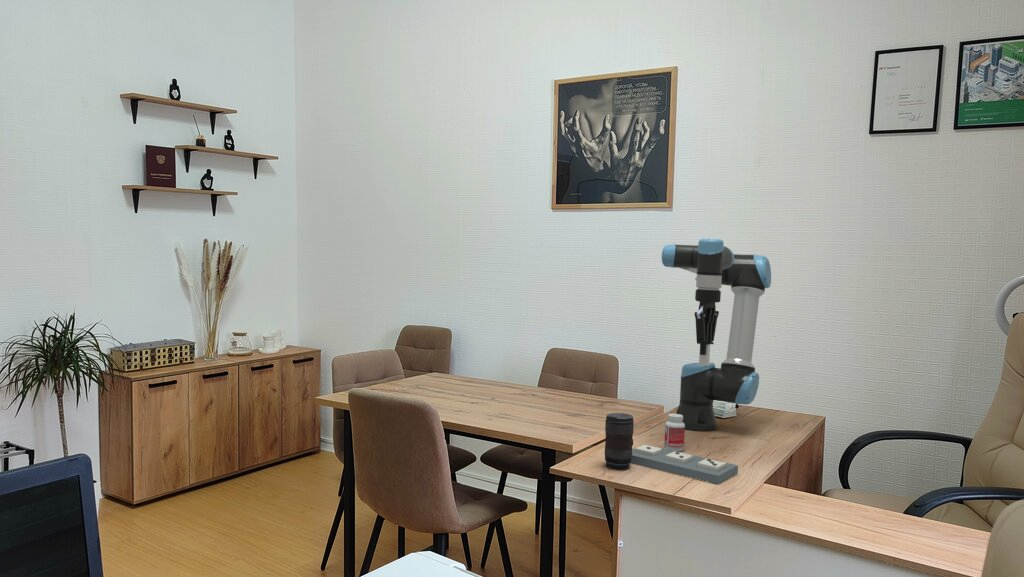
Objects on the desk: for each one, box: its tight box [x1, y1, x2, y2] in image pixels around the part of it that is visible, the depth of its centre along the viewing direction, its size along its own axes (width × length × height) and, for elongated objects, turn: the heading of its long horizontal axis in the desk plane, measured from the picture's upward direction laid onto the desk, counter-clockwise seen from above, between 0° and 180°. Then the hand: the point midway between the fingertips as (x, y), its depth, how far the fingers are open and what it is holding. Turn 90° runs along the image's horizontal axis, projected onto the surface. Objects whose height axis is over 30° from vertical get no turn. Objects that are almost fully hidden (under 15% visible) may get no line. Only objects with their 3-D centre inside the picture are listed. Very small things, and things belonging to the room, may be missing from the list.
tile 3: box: [697, 458, 727, 471], centre depth 206 cm, size 6×6×4 cm
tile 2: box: [665, 451, 693, 464], centre depth 212 cm, size 6×6×4 cm
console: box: [630, 443, 739, 485], centre depth 212 cm, size 14×30×2 cm, turn 51°
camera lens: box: [604, 412, 635, 471], centre depth 210 cm, size 8×8×15 cm
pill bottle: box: [663, 413, 686, 452], centre depth 231 cm, size 6×6×11 cm
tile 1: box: [634, 444, 662, 456], centre depth 218 cm, size 6×6×4 cm
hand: (703, 365), depth 224 cm, fingers closed
